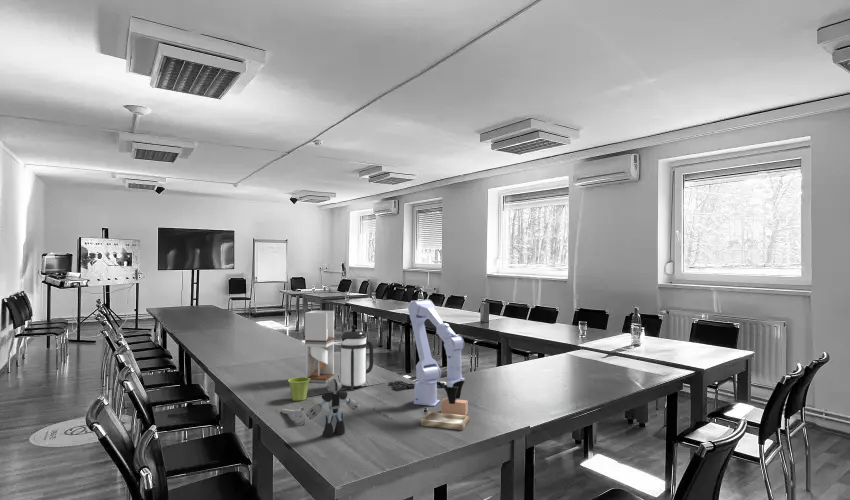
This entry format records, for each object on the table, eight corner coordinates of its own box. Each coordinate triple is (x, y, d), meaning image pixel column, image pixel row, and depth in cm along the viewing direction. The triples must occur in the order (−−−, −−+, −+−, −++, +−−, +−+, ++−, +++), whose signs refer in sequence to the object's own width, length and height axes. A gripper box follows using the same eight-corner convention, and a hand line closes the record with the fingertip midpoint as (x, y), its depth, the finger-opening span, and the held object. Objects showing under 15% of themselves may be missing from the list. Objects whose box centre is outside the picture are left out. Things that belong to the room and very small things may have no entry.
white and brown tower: (304, 381, 235) (305, 312, 236) (313, 376, 245) (313, 310, 246) (326, 382, 233) (326, 313, 234) (333, 377, 243) (334, 310, 244)
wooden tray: (420, 425, 171) (420, 419, 171) (429, 416, 181) (429, 411, 181) (462, 430, 166) (462, 424, 166) (469, 421, 175) (469, 415, 176)
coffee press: (368, 390, 218) (368, 326, 219) (335, 390, 218) (335, 326, 219) (373, 381, 235) (373, 322, 236) (342, 381, 236) (342, 322, 236)
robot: (308, 441, 156) (308, 381, 156) (304, 437, 160) (304, 378, 160) (362, 431, 165) (362, 374, 166) (357, 426, 170) (357, 372, 170)
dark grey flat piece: (449, 389, 225) (449, 382, 226) (405, 394, 212) (405, 386, 212) (427, 381, 242) (427, 375, 242) (384, 386, 229) (384, 378, 229)
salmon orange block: (441, 413, 185) (441, 400, 186) (443, 410, 189) (443, 398, 189) (465, 416, 182) (465, 403, 182) (467, 412, 186) (467, 400, 186)
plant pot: (283, 401, 202) (283, 381, 202) (297, 395, 211) (297, 376, 211) (301, 403, 198) (301, 383, 199) (314, 397, 207) (314, 378, 207)
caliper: (305, 425, 172) (305, 408, 172) (302, 426, 171) (302, 408, 172) (283, 411, 188) (283, 395, 188) (280, 412, 187) (280, 396, 188)
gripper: (459, 371, 178) (459, 407, 178) (468, 363, 192) (468, 396, 191) (441, 370, 180) (442, 405, 180) (451, 362, 194) (452, 395, 194)
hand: (454, 400), depth 186 cm, fingers open, 7 cm apart
